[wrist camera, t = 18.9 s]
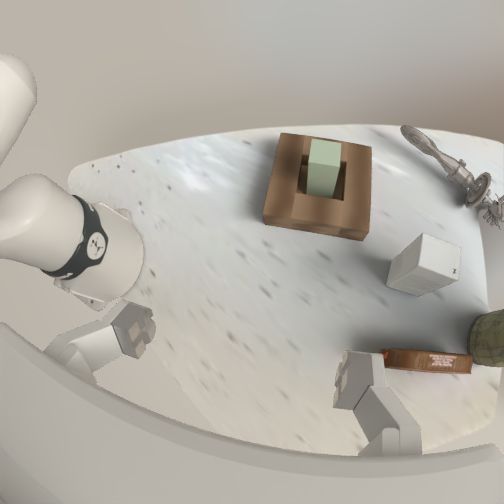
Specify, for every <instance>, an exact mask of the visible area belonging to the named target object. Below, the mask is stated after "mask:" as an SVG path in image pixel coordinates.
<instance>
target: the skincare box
mask: <svg viewBox="0 0 504 504" xmlns="http://www.w3.org/2000/svg"><path fill="white" fill-rule="evenodd" d="M460 259H461V247H459V246H456V245H454V244H451V243H448V242H446V241H443V240H440V239H438V238H435V237H432V236H430V235H427V234H424V233H422V234H421V235H420V236H419V237H418V238H417V239H415V240H414V241H413V242H412V243H411V244H410V245H409V246H408V247H407V248H405V249H404V250H403V251H402V252H401V253H400V254H399V255H398V256H396V257H395V258H394V259H393V260H392V261H391V265H390V270H389V274H388V279H387V283H386V286H387V287H390V288H394V289H397V290H400V291H403V292H406V293H409V294H412V295H415V296H421V295H424V294H426V293H429V292H431V291H434V290H436V289H439V288H441V287H444V286H446V285H449V284H451V283H453V282H456V281H458V278H459V269H460Z"/></svg>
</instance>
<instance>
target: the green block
mask: <svg viewBox="0 0 504 504" xmlns="http://www.w3.org/2000/svg"><path fill="white" fill-rule="evenodd" d="M340 157H341V143H337V142H331V141H325V140H318V139H312V141H311V148H310V155H309V162H308V179H307V193H306V195H312V196H318V197H324V198H330V199H332V197H333V193H334V189H335V185H336V181H337V177H338V172H339V168H340Z"/></svg>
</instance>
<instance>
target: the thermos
mask: <svg viewBox="0 0 504 504" xmlns="http://www.w3.org/2000/svg"><path fill="white" fill-rule="evenodd" d="M467 349H468V353H469V355H471V356H472V357H473V362H474V363H476V364H479V365H485V366H490V367H504V309H503V310H498V311H494V312H490V313H488V314H484V315H480V316H479V317H478V318H477V319H476V320H475V321H474V322H473V324H472V325H471V328H470V330H469V333H468V339H467Z"/></svg>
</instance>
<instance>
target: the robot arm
mask: <svg viewBox="0 0 504 504" xmlns="http://www.w3.org/2000/svg"><path fill="white" fill-rule="evenodd" d="M36 102H37V87H36V81H35V78H34V75H33V73H32V71H31V69H30V68H29V66H28V65H27V64H26V63H25V62H24V61H23V60H22V59H20V58H19V57H16V56H14V55H11V54H0V166H1V164H2V162H3V161H4V159H5V158H6V156H7V155H8V153H9V151H10V150H11V148H12V146H13V145H14V144H15V142H16V141H17V139H18V137H19V135H20V133H21V131H22V129H23V127H24V126H25V124H26V122H27V120H28V118H29V116H30V114H31V112H32V111H33V109H34V107H35V105H36ZM143 255H144V250H143V243H142V239H141V237H140V235H139V233H138V231H137V230H136V229H135V227H134V226H133V224H132V219H131V214H130V212H129V211H127V210H126V209H119V210H113V209H111V208H109V207H108V206H106V205H105V204H103V203H100V202H99V203H98V204H91V205H90V204H89V203H88V202H87V201H86V200H84V199H82V198H80V197H78V196H76V195H71V194H69V193H68V192H67V191H65V190H64V189H62V188H61V187H60V186H58V185H57V184H56V183H54V182H53V181H52V180H50V179H49V178H48V177H46V176H44V175H41V174H29V175H25V176H22V177H20V178H18V179H16V180H15V181H14V182H12V183H11V184H10V185H8V186H7V187H6V188H4V189H3V190H2V191H0V258H4V259H10V260H14V261H18V262H21V263H24V264H28V265H31V266H34V267H37V268H40V269H41V270H42V271H43V272H44V273H45V274H47V275H49V276H51V277H53V278H55V281H54V285H55V286H57V287H59V288H62V289H64V290H65V291H67V292H71V293H73V294H74V295H75V296H76V297H78V298H79V299H80V300H81V301H83V302H84V303H85V304H87V305H88V306H89V307H91V308H92V309H93V310H96V311H101V310H102V309H103V308H104V307H105V306H106V305H107V304H108V303H109V302H110V301H111V300H114V299H116V298H118V297H120V296H122V295H123V294H125V293H126V292H127V291H128V290H129V289H130V288H131V287H132V286H133V284H134V283H135V281H136V279H137V278H138V276H139V273H140V271H141V267H142V263H143ZM93 300H94V302H93ZM152 316H153V313H152V310H151V309H150V308H147V307H144V306H141V305H138V304H135V303H132V302H129V301H126V300H120V301H119V302H118V303H117V304H116V305H115V306H114V307H113V308H112V309H111V310H110V311H109V313H108V314H107V315H106V316H105V317H104V318H103V319H102V320H101V321H100V320H97V321H94V322H91V323H89V324H86V325H84V326H81V327H78V328H76V329H73V330H71V331H68V332H66V333H63V334H60V335H58V336H57V337H56V338H55V339H54V340H53V342H51V344H50V345H49V346H48V347H47V348H46V349H45V350H44V351H43V352H42V351H41V350H39V349H38V348H37V347H35V346H34V345H33V344H31V343H30V342H28V341H27V340H26V339H25V338H23V337H22V336H20V335H19V334H18V333H17V332H16V331H14V330H13V329H12V328H11V327H9V326H8V325H7V324H5V323H2V322H1V323H0V504H504V454H503V452H502V451H501V450H500V449H499V448H498V447H497V446H496V445H495V444H484V445H480V446H476V447H471V448H465V449H460V450H454V451H447V452H440V453H432V454H424V455H423V454H422V442H421V429H420V426H419V424H418V423H417V422H416V421H415V419H414V418H413V417H412V415H411V414H410V413H409V411H408V410H407V409H406V408H405V406H404V405H403V404H402V402H401V401H400V400H399V399H398V397H397V396H396V395H395V393H394V392H393V391H392V390H391V388H390V387H386V378H385V368H384V360H383V355H382V354H377V353H368V352H359V351H350V350H346V351H345V352H344V354H343V362H341V363H340V364H339V366H338V369H337V372H336V377H335V386H336V388H337V389H336V391H335V393H334V402H333V408H339V409H347V410H353V412H354V414H355V416H356V418H357V420H358V422H359V424H360V426H361V428H362V429H363V431H364V433H365V435H366V437H367V439H368V441H369V444H368V445H367V446H366V447H365V448H364V449H363V450H362V451H361V452H359V453H358V456H342V455H328V454H318V453H309V452H302V451H295V450H288V449H282V448H276V447H271V446H266V445H261V444H256V443H252V442H247V441H243V440H239V439H235V438H231V437H227V436H224V435H220V434H216V433H213V432H210V431H206V430H203V429H200V428H197V427H194V426H191V425H187V424H185V423H182V422H179V421H176V420H174V419H171V418H168V417H165V416H163V415H161V414H158V413H156V412H153V411H151V410H148V409H146V408H144V407H141V406H139V405H137V404H135V403H132V402H130V401H128V400H126V399H124V398H122V397H120V396H117V395H115V394H113V393H111V392H109V391H107V390H105V389H103V388H102V387H100V386H98V385H96V383H97V381H96V378H95V377H94V375H93V373H92V372H94V371H96V370H97V369H99V368H101V367H103V366H104V365H106V364H108V363H110V362H111V361H113V360H115V359H117V358H118V357H120V356H122V355H123V354H125V355H128V356H131V357H133V358H136V359H139V358H140V357H141V355H142V354H143V352H144V351H145V349H146V346H145V345H146V344H148V343H150V342H151V341H152V339H153V338H154V335H155V332H156V326H155V322H154V321H153V320H152V319H151V317H152Z"/></svg>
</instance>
